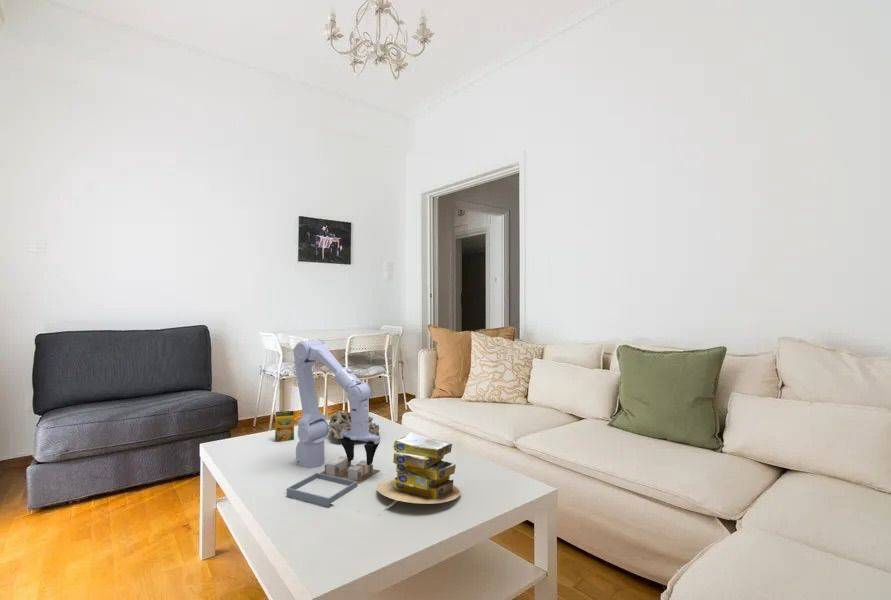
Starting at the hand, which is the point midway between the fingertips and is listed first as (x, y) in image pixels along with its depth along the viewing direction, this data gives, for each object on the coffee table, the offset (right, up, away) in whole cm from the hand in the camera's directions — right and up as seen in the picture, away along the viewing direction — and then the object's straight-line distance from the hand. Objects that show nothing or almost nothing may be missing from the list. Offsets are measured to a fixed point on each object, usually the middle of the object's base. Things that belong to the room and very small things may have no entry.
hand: (360, 462), depth 147 cm
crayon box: (-39, -5, +39) cm, 55 cm away
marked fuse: (0, -4, 0) cm, 4 cm away
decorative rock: (-11, -5, +45) cm, 46 cm away
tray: (-9, -5, -11) cm, 15 cm away
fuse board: (-4, -5, +2) cm, 7 cm away
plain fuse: (-8, -4, +4) cm, 10 cm away
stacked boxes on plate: (+20, -6, -12) cm, 24 cm away
